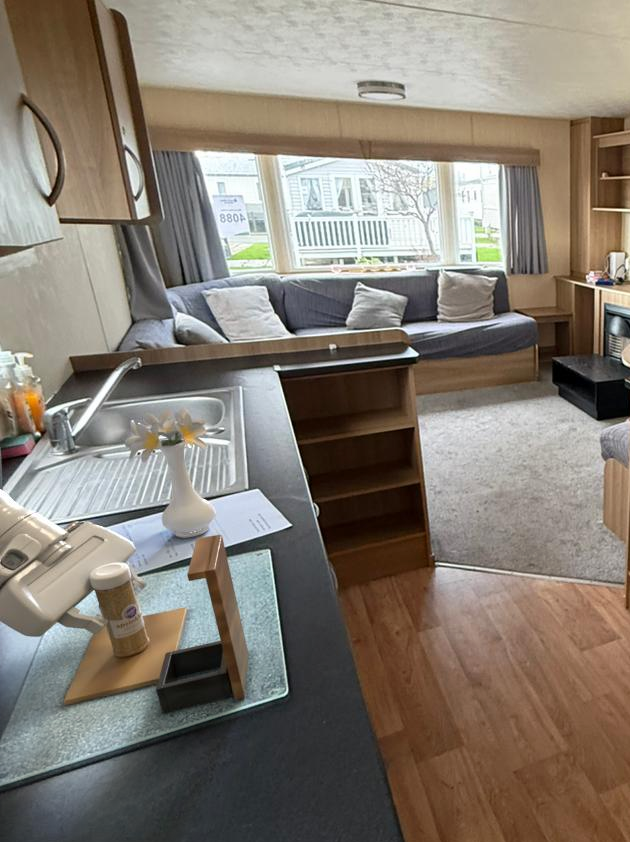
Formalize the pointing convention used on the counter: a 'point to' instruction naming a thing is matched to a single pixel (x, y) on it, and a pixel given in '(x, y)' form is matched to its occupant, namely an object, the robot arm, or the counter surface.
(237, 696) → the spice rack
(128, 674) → the cork mat
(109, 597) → the sprinkles bottle
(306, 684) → the counter surface
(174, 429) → the flower vase
